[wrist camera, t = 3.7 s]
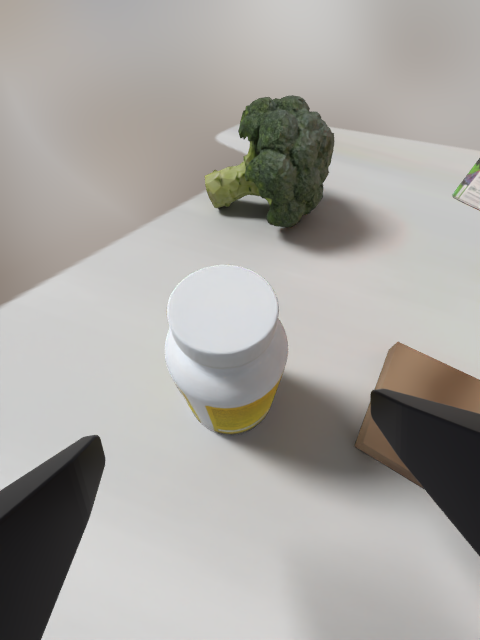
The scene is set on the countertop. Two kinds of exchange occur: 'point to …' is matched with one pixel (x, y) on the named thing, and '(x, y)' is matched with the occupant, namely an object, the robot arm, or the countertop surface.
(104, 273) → the countertop surface
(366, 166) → the countertop surface
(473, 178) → the syrup box
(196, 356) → the pill bottle
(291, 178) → the vegetable
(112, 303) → the countertop surface
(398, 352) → the base tile
